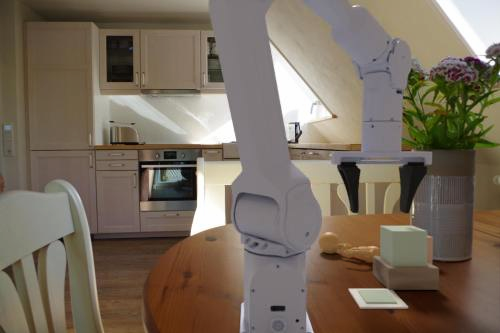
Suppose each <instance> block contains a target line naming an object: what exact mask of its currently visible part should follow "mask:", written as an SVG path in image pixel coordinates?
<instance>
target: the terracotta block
mask: <svg viewBox="0 0 500 333" xmlns="http://www.w3.org/2000/svg"><path fill="white" fill-rule="evenodd" d="M433 251H434V237H433V236H430V235H428V234H427V262H429V263H430V264H432V265H433V256H434V255H433V254H434V253H433Z"/></svg>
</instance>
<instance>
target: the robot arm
mask: <svg viewBox="0 0 500 333" xmlns="http://www.w3.org/2000/svg"><path fill="white" fill-rule="evenodd" d="M275 1H276V0H208V11H209V12H208V13H209V17H210V21H211V27H212V30H213V36H214V41H215V45H216V50H217V54H218V55H217V56H218V60H219V66H220V70H221V74H222V78H223V83H224V90H225V94H226V97H227V103H228V108H229V112H230V117H231V121H232V127H233V131H234V135H235V141H236V146H237V150H238V155H239V161H240V164H241V172H240V173H239V174H238V175H237V176H236V177H235V179H234V180H233V181H232V182H231V184H230V189H231V194H232V202H231V208H230V219H231V224H232V227H233V228H234V229H235V231H236V232H237V233H238V234H239V235H240V244H242V245H243V302H242V303H240V323H239V333H315V332H314V330H313V327H312V323H311V321H310V317H309V313H308V312H307V296H308V295H307V292H308V290H307V282H306V280H307V278H306V277H307V275H306V274H307V252H308V251H311V249H312V246H313V245H314V244H315V242H316V240H318V237H319V234H320V233H321V229H322V224H323V214H322V213H323V212H322V208H321V206H320V203H319V201H318V199H317V198H316V197H315V195H314V193H313V189H312V183H311V180H310V178H309V177H308V176H307V175H306V174H305V173H304V172H303V171H302V170H300V168H298V167H297V166H296V165H295V164H294V163H293V162H292V160H291V155H290V150H289V143H288V138H287V132H286V127H285V123H284V122H285V121H284V116H283V109H282V105H281V104H282V103H281V99H280V94H279V89H278V88H279V87H278V82H277V77H276V71H275V66H274V60H273V54H272V48H271V42H270V38H269V31H268V26H267V21H266V20H267V19H266V15H267V13H268V11H269V10H270V8H271V7H272V5H273V4H274V2H275ZM299 2H301V3H302V4H303V5H304V6H306V7H307V8H308V9H309V10H310V11H312V12H313V13H314V14H315V15H317V16H318V17H319V18H320V19H322V20H323V21H324V22H325V23H327V24H328V25H329V26H330V27H331V30H330V36H331V39H332V41H333V42H334V43H335V44H336V45H337V46H338V47H339V48H340V49H341V50H342V52H344V53H345V54H346V55H347V56H348V57H350V61H351V63H352V65H353V67H354V69H355V74H356V76H357V79H359V80H361V81H362V96H361V97H362V100H361V102H362V106H361V107H362V108H361V146H360V147H361V148H360V150H358V151H357V150H355V151H354V150H348V151H346V150H345V151H343V150H342V151H338V150H337V151H336V150H335V151H334V150H333V151H331V153H330V154H331V161H330V163H331V164H332V165H335V166H336V168H337V171H338V173H339V175H340V178H341V180H342V182H343V185H344V187H345V191H346V194H347V198H348V202H349V210H350V212H351V213H353V214H359V208H360V206H359V205H360V202H359V201H360V200H359V199H360V198H359V188H360V186H359V185H360V180H361V179H360V178H361V172H362V170H361V169H360V167H359V166H358V165H400V166H398V171H399V172H398V173H399V183H400V194H399V195H400V196H399V211H400V212H402V213H404V214H410V213H411V210H412V205H413V201H414V198H415V196H416V192H417V190H418V189H419V187H420V185H421V183H422V181H423V179H424V178H425V176H426V175H427V174H428V166H429V165H430V166H431V165H433V151H418V150H417V151H416V150H415V151H402V143H403V142H402V140H403V138H402V135H403V109H404V108H403V102H404V100H403V99H404V91H406V89H407V86H408V78H409V74H410V73H411V70H412V66H413V58H412V53H411V49H410V45H409V44H408V42H407V41H406V40H403V39H401V38H400V37H392V36H391V35H390V34H389V33H388V31H387V30H386V29H385V28H384V27H383V26H382V25H381V23H380V22H379V21H378V20H377V19H376V18H375V16H374V15H373V14H372V13H371V12H370V11H369V10H368V9H367V7H366V6H364V5H353V6H352V4H351V3H350V1H349V0H299ZM371 158H372V159H373V158H374V159H375V158H376V159H377V158H379V159H380V158H381V159H386V158H387V159H391V160H371ZM426 165H427V166H426Z"/></svg>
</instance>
